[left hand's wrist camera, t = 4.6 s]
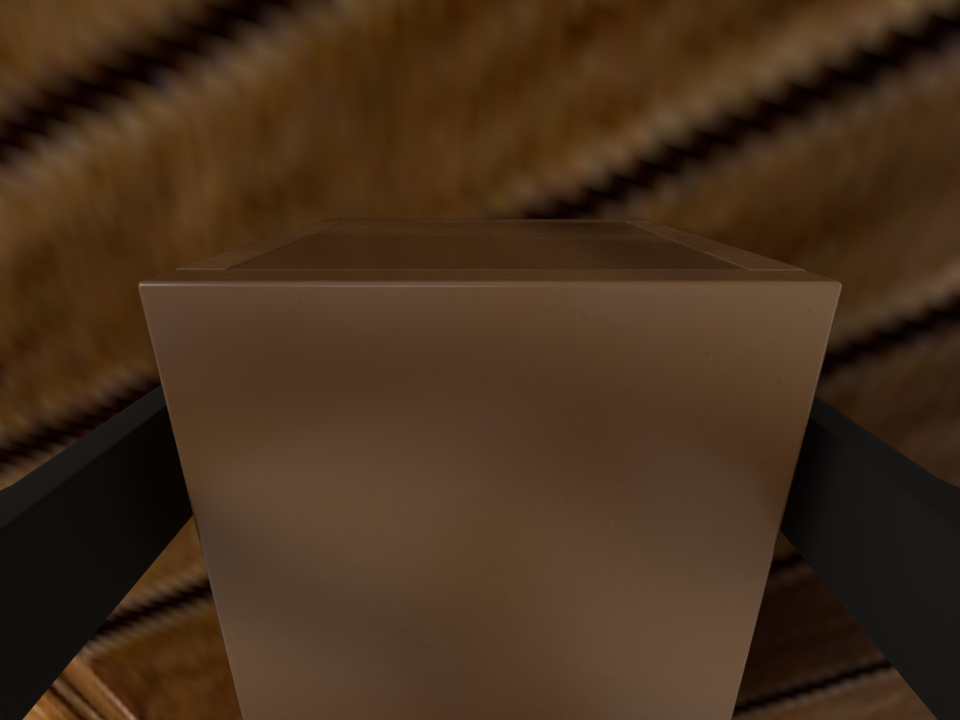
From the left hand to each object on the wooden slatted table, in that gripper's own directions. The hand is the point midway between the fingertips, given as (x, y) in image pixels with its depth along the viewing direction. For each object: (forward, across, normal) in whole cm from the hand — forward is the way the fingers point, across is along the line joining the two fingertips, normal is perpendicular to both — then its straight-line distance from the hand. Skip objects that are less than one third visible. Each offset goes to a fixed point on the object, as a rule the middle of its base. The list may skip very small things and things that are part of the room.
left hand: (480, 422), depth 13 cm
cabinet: (+6, 0, -6) cm, 9 cm away
